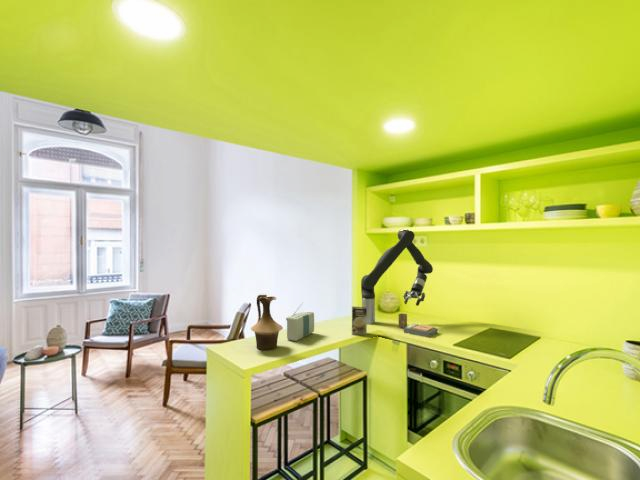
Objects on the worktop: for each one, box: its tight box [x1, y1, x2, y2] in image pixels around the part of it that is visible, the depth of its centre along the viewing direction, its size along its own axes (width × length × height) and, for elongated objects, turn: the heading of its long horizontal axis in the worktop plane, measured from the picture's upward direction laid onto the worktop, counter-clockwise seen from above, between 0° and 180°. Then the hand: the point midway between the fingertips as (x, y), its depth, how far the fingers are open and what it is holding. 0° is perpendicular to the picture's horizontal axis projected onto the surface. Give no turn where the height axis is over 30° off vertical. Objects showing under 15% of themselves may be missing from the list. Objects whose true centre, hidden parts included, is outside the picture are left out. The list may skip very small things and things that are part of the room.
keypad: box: [403, 322, 438, 338], centre depth 199 cm, size 16×13×4 cm
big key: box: [413, 324, 435, 332], centre depth 198 cm, size 9×11×2 cm
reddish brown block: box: [398, 312, 408, 330], centre depth 211 cm, size 4×4×9 cm
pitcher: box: [250, 294, 284, 351], centre depth 171 cm, size 18×17×28 cm
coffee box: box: [351, 306, 368, 336], centre depth 197 cm, size 9×6×16 cm
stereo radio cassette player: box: [285, 303, 315, 342], centre depth 191 cm, size 21×8×20 cm, turn 153°
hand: (410, 304), depth 220 cm, fingers open, 8 cm apart
